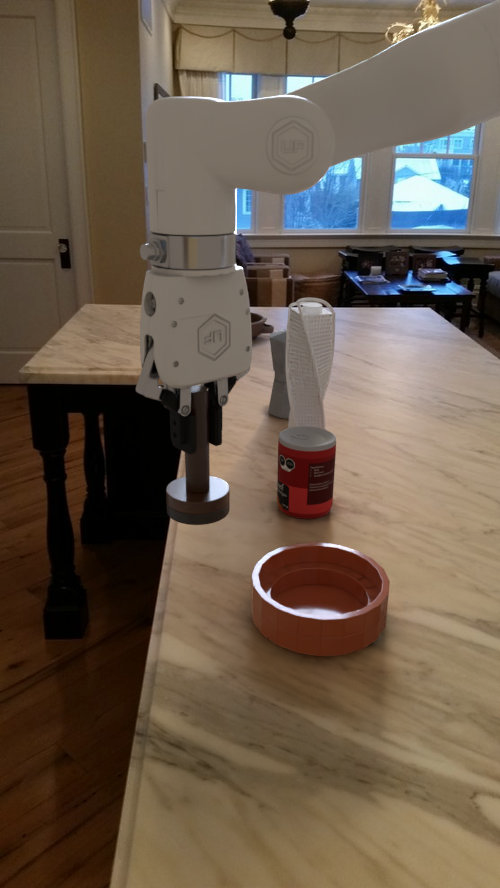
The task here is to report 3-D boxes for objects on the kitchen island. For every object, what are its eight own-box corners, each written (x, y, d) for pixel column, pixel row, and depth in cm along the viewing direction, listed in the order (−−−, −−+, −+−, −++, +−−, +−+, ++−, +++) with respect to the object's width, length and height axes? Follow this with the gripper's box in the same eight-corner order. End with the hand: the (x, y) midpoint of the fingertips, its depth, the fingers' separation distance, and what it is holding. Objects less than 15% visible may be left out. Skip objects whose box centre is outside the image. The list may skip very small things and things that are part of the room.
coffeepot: (256, 402, 142) (258, 314, 135) (299, 398, 145) (303, 311, 138) (284, 429, 129) (287, 332, 122) (331, 424, 131) (337, 329, 124)
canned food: (281, 492, 105) (283, 423, 101) (334, 498, 103) (339, 428, 99) (272, 516, 98) (273, 444, 94) (329, 522, 97) (333, 449, 92)
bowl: (316, 565, 87) (318, 529, 85) (413, 620, 77) (417, 582, 75) (224, 611, 78) (224, 573, 76) (320, 681, 68) (322, 639, 66)
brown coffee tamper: (203, 490, 76) (201, 374, 71) (242, 511, 72) (243, 389, 67) (154, 508, 72) (148, 387, 67) (192, 532, 68) (189, 404, 63)
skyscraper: (315, 484, 108) (324, 301, 97) (271, 473, 111) (276, 295, 100) (335, 466, 114) (346, 292, 103) (294, 456, 117) (300, 287, 107)
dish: (197, 326, 202) (196, 309, 200) (274, 328, 201) (274, 310, 199) (190, 342, 186) (189, 323, 184) (273, 343, 185) (273, 325, 183)
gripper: (139, 266, 55) (149, 481, 62) (289, 250, 64) (282, 437, 71) (91, 255, 60) (105, 454, 67) (236, 242, 70) (235, 417, 77)
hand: (197, 444), depth 69 cm, fingers closed on brown coffee tamper, 2 cm apart
